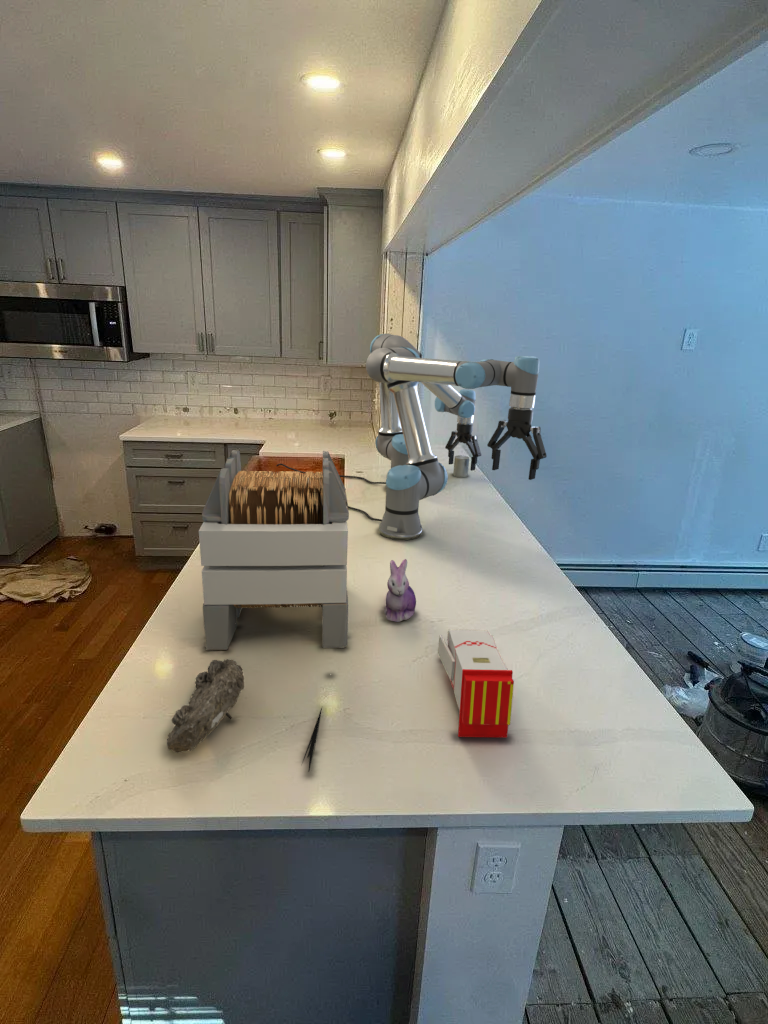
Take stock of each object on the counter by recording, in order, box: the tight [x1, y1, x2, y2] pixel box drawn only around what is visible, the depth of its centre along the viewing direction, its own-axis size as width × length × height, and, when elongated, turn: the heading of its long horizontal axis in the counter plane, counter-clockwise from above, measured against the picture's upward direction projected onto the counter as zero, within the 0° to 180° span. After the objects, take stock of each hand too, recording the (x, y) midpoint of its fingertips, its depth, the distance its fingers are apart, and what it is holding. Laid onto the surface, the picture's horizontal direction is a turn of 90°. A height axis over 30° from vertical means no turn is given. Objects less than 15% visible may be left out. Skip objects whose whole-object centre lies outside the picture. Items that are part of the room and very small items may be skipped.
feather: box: [301, 673, 332, 771], centre depth 108 cm, size 2×28×2 cm
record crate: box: [198, 449, 350, 651], centre depth 138 cm, size 34×33×41 cm
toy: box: [437, 628, 515, 738], centre depth 117 cm, size 12×13×30 cm
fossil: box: [166, 658, 245, 754], centre depth 106 cm, size 22×10×15 cm
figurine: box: [384, 558, 417, 623], centre depth 145 cm, size 9×10×15 cm
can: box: [452, 454, 470, 478], centre depth 273 cm, size 7×7×9 cm
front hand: (513, 474), depth 182 cm, fingers open, 13 cm apart
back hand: (461, 467), depth 273 cm, fingers open, 13 cm apart
